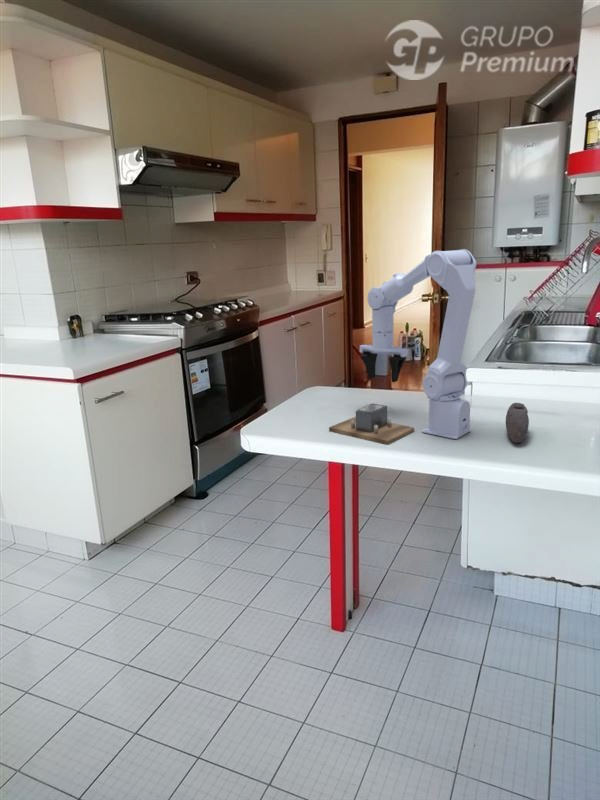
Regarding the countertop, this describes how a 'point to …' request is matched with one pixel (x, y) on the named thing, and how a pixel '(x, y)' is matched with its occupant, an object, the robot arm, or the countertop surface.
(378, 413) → the block
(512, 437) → the perforated stone tool
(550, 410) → the countertop surface
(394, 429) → the pin tray
